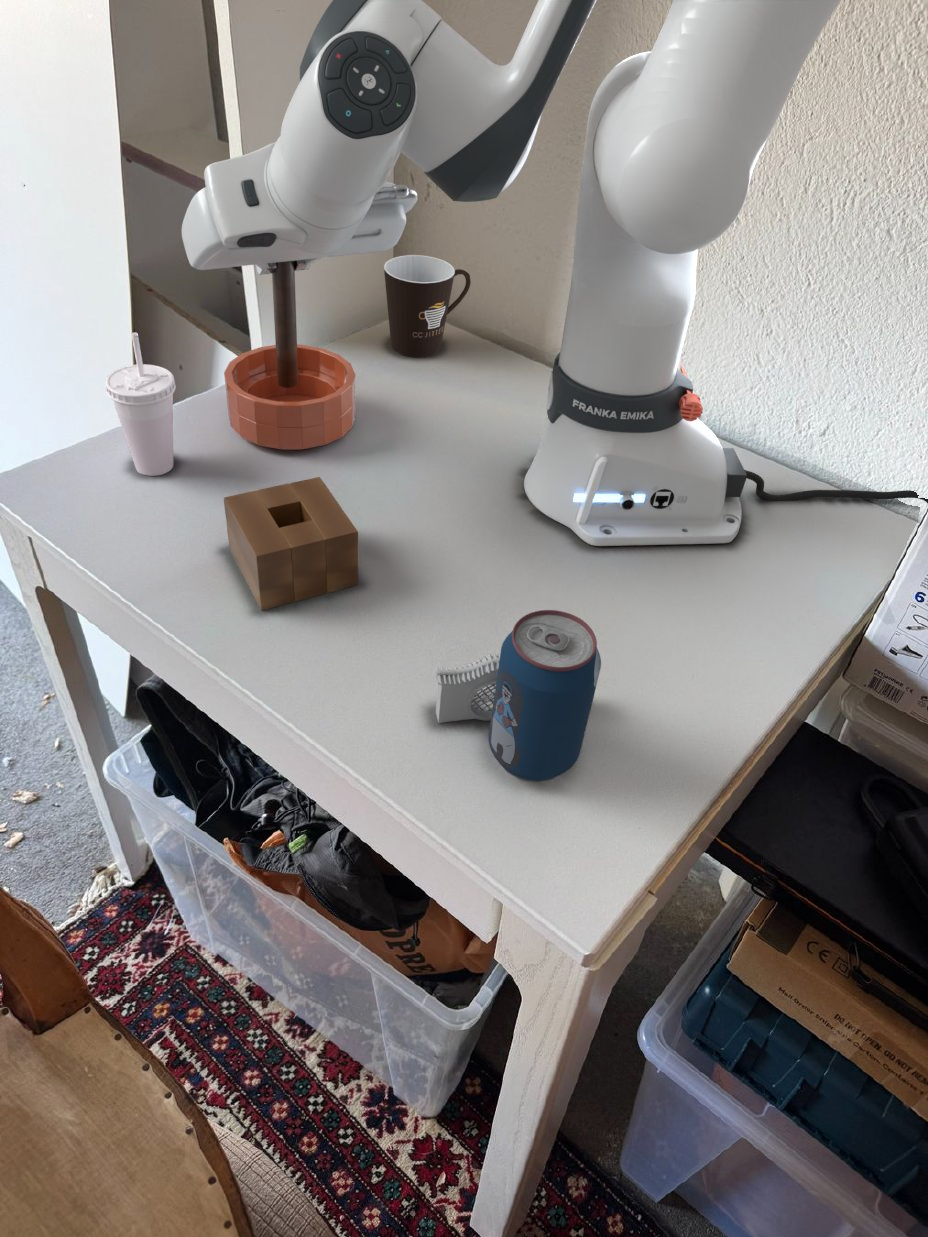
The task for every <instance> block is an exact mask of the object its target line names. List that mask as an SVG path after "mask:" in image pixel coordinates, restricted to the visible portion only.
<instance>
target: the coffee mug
mask: <svg viewBox="0 0 928 1237" xmlns="http://www.w3.org/2000/svg"><path fill="white" fill-rule="evenodd" d="M383 273H384V274H383V275H384V283H385V294H386V304H387V315H388V316H387V317H388V326H389V336H390V346H391V348H392V350H393V351H394V352H395V353H396V354H397V353H398V354H399V355H402V356H405V357H408V358H428V357H432V356H435V355H437V354H438V353H439V352H440V351H441V349H442V343H443V338H444V332H445V327H446V321H447V316H448V315H449V314H450V313H451V312H453V310H454V309H455V308H456V307H457V306H459V304H460V303H461V302H462V301H463V299H464V298H465V297H466V295H467V293H468V292H469V290H470V287H471V283H472V282H471V275H470V273H469V272H468V271H466V270H464V269H461V268H460V269H459V268H458V269H455V267H454V266H453V265H452V264H451V263H450V262H447V261H446V260H444V259H441V258H438V257H434V256H430V255H424V254H423V255H422V254H421V255H420V254H405V255H400V256H395V257H392V258H390V259H388V260H387V261H386V262H385V263H384V264H383ZM458 275H462V276H464V279H465V284H464V287H463V290H462V291H461V293H460V294H459V296H458V297H457V298H456V299H455V300H454V301H453V302H452V303H451V304H450V300H451V295H452V290H453V283H454V280H455V277H456V276H458Z"/></svg>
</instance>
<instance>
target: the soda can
mask: <svg viewBox="0 0 928 1237" xmlns="http://www.w3.org/2000/svg"><path fill="white" fill-rule="evenodd" d="M499 654H500V660H499V667H498V674H497V681H496V685H495V686H496V688H495V689H494V691H495V693H494V694H495V695H493V696H494V698H493V701H494V702H493V709H492V715H491V721H489V728H488V729H489V731H488V745H489V749H490V751H491V754H492V756H493V757H494V758H495V760H496V761H497V762H498V763H499V766H501V767H502V768H503V769H504V770H505V771H506V772H507V773H508V774H510V775H511V776H513V777H515V778H517V779H519V780H522V781H526V782H533V783H542V782H546V781H551V780H553V779H555V778H557V777H559V776H562V775H563V774H565V773H566V772H568V771H569V770H570V769H571V768H573V767H574V765H575V764H576V763H577V761H578V759H579V758H580V754H581V751H582V747H583V742H584V738H585V734H586V731H587V726H588V722H589V718H590V713H591V710H592V706H593V703H594V702H593V701H594V698H595V693H596V689H597V685H598V682H599V677H600V673H601V669H602V657H601V655H600V652H599V649H598V642H597V637H596V635H595V632H594V631H593V629H592V628H591V627H590V625H589V624H588V623H587V622H585V621H584V620H583V619H582V618H580V617H578V616H576V615H575V614H571V613H569V612H566V611H561V610H557V609H554V610H553V609H542V610H535V611H533V612H530V613H527V614H525V615H523V616H522V617H521V618H519V619H518V620H517V622H516V623H515V624H514V626H513V628H512V631H510V632H509V633H508V634H507V635H506V636H505V639H504V640H503V642H502V645H501V647H500V653H499Z"/></svg>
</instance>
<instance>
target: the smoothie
mask: <svg viewBox="0 0 928 1237" xmlns="http://www.w3.org/2000/svg"><path fill="white" fill-rule="evenodd" d="M131 340H132V345H133V351H134V356H135V362H136V363H135V364H131V365H126V366H123V367H119V368H117V369H116V370H113V371H112V372H110V373H109V374H108V375H107V376H106V378H105V379H104V380H105V381H104V383H105V384H104V385H105V392H106V395H107V396H108V398H110V399H111V400H112V403H113V406H114V409H115V412H116V415H117V418H118V420H119V423H120V426H121V429H122V432H123V434H124V438H125V441H126V444H127V446H128V449H129V453H130V455H131V459H132V462H133V464H134V467H135V470H136V471H137V472H138V473H139V474H140V475H144V476H150V477H156V476H162V475H165V474H167V473H169V472H170V471H171V470H172V469H173V468H174V395H173V394H175V391H176V389H177V386H176V382H175V376H174V374H173V373H172V372H171V371H170V370H168V369H167V368H165V367H162V366H159V365H154V364H145V363H144V362H143V356H142V352H141V345H140V338H139V334H138V332H131Z"/></svg>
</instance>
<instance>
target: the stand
mask: <svg viewBox="0 0 928 1237" xmlns="http://www.w3.org/2000/svg"><path fill="white" fill-rule="evenodd" d="M223 505H224V514H225V523H226V531H227V540H228V548H229V553H230V554H231V556H232V558H233V560H234V562H235V563H236V565H237V567H238V569H239V571H240V573H241V575H242V577H243V579H244V581H245V582H246V584H247V586H248V588H249V590H250V591H251V594H252V596H253V597H254V599H255V601H256V603H257V605H258V607H259V609H260V611H265V610H269V609H272V608H276V607H280V606H281V607H282V606H285V605H288V604H292V603H295V602H300V601H303V600H308V599H310V598H314V597H318V596H323V595H326V594H330V593H332V592H337V591H340V590H344V589H347V588H351V587H356V586H358V585H359V531H358V529H357V528H356V527H355V525H354V524H353V521H352V520H351V519H350V518H349V516H348V515H347V514H346V511H344V510H343V507H341V505H340V504H339V502H338V501H337V499H336V498H335V496H334V495H333V493H332V492H331V491H330V489H329V488H328V487H327V485H326V483H325V482H324V481H323V479H322V478H321V476H317V477H311V478H308V479H304V480H303V479H302V480H299V481H293V482H289V483H284V484H280V485H274V486H269V487H265V488H260V489H256V490H252V491H247V492H243V493H239V494H233V495H229V496H224V497H223Z"/></svg>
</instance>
